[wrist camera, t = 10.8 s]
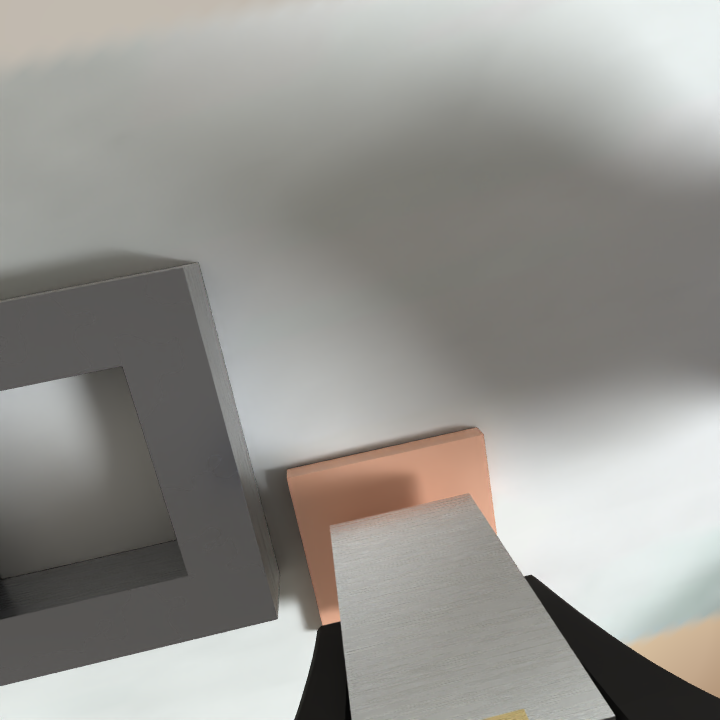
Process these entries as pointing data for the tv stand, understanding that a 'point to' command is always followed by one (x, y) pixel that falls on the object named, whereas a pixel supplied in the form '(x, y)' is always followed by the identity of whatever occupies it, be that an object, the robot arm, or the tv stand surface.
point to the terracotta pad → (382, 494)
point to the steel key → (449, 623)
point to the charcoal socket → (173, 469)
